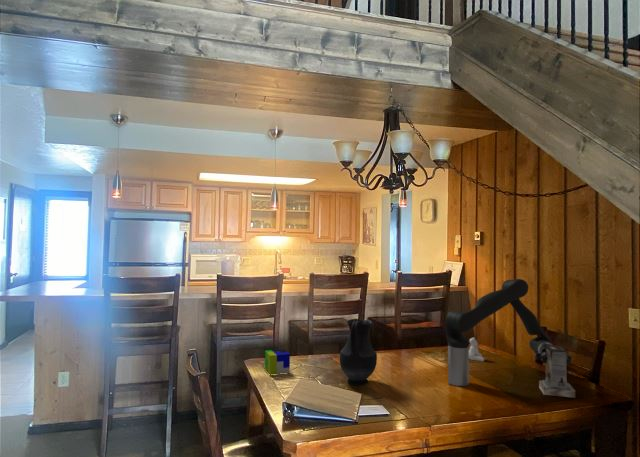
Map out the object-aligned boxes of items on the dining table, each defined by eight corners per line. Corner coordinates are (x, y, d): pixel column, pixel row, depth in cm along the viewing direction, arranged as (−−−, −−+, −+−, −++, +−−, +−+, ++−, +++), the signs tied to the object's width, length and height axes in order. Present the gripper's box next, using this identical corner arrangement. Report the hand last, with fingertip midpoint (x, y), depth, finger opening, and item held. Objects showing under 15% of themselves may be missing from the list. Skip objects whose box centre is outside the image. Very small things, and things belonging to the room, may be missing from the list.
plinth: (544, 395, 185) (544, 387, 185) (538, 386, 196) (538, 379, 196) (575, 398, 182) (575, 390, 182) (568, 389, 192) (568, 382, 192)
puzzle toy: (289, 374, 213) (289, 353, 214) (270, 376, 210) (270, 355, 210) (283, 368, 223) (283, 349, 223) (264, 370, 219) (265, 350, 219)
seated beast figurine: (484, 362, 235) (484, 339, 236) (468, 361, 237) (468, 339, 237) (481, 357, 245) (481, 336, 245) (465, 356, 246) (465, 335, 246)
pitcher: (379, 378, 207) (379, 315, 208) (372, 393, 187) (372, 323, 188) (343, 375, 212) (344, 313, 213) (333, 389, 192) (334, 321, 193)
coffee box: (545, 380, 194) (544, 344, 194) (560, 381, 193) (560, 345, 193) (551, 387, 185) (550, 349, 186) (567, 388, 184) (567, 350, 184)
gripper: (531, 342, 207) (538, 351, 191) (564, 344, 203) (574, 353, 187) (531, 358, 207) (538, 368, 191) (564, 360, 203) (574, 371, 187)
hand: (556, 360), depth 189 cm, fingers open, 8 cm apart
